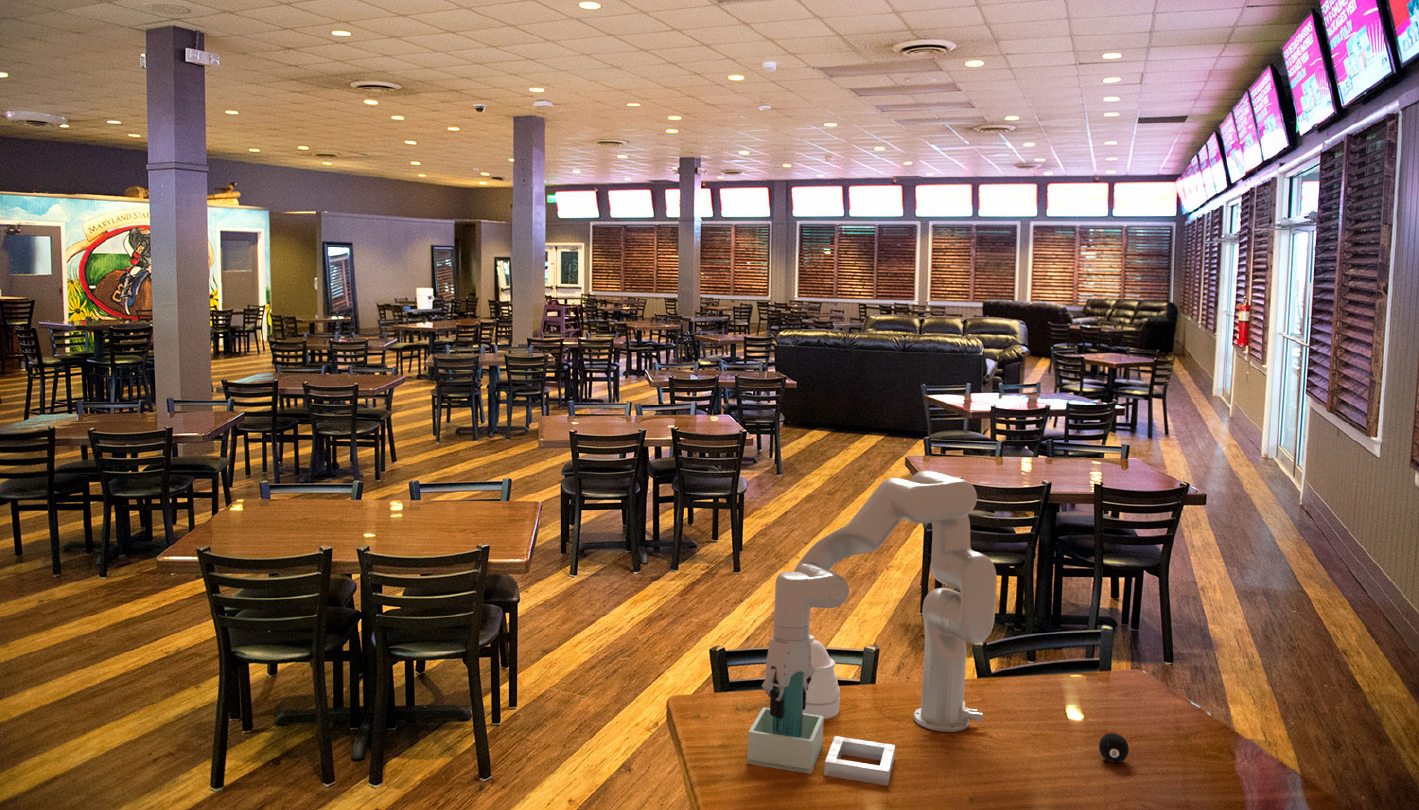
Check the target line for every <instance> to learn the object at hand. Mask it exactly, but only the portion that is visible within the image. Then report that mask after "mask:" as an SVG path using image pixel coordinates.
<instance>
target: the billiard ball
mask: <svg viewBox="0 0 1419 810" xmlns="http://www.w3.org/2000/svg"><path fill="white" fill-rule="evenodd" d="M1098 743H1099V744H1098V750H1099V753H1100V755H1101V756H1102V758H1103V759H1104V758H1105V759H1104V760H1106V761H1107V760H1109V761H1108V762H1110V761H1113V762H1118V763H1122V762H1125V760H1126V758H1127V757H1128V755H1129V750H1130V747H1129V744H1128V741H1127V740H1126V738H1125V737H1124V736H1122V735H1120V734H1119V733H1116V732H1115V733H1114V732H1113V733H1112V732H1111V733H1110V732H1108V733H1106V734H1104V735H1103V736H1102V737H1100V740H1099V742H1098ZM1113 762H1112V763H1113Z"/></svg>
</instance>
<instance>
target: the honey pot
mask: <svg viewBox="0 0 1419 810" xmlns="http://www.w3.org/2000/svg"><path fill="white" fill-rule="evenodd" d="M809 637H810V644H811V665H812V666H813V667H814V668H815V672H814V674H813V676H812V677H811V681H810V683H809V685H808V690H807V691H805V692H806V706H805V709H804V710H802V713H806V714H813V715H820V716H824V720H827V719H831V718H834V717H836V716H837V715H838V714H839V713H840V704H841V703H840V702H841V701H840V699H841V697H840V696H841V695H840V694H841V687H840V686H839V683H838V679H837V673H836V672H835V669H834V668H835V667H836V661H835V660H834V659H832V658H831V657H830V656H829V653H828V651H827V649H826V648H825V646H824V644H822V643H821V642H820V641H819V640H816V639H815V635H811V634H809Z"/></svg>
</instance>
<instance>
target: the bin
mask: <svg viewBox="0 0 1419 810" xmlns="http://www.w3.org/2000/svg"><path fill="white" fill-rule="evenodd" d="M802 714H803V719H802V720H803V721H802V728H803V729H802V734H801V737H800V738H797V737H791V736H784V735H778V734H773V730H772V729H773V722H772V720H773V716H772V715H770V707H764V706H763V707H762V708H761V709H760V712H759V713H758V716H756V719H755V720H754V722H753V723H752V725H751V727H750V729H749V730H748V736H747V737H748V738H747V758H746V759H747V760H746V761H747V762H746V764H747V765H755V766H758V767H759V766H760V767H765V768H772V769H779V770H785V771H789V772H790V771H791V772H796V771H797V773H802V772H804V773H803V774H809V775H811V774H812V773H813V771H814V768H815V766H816V764H817V763H816V762H817V761H818V758H819V756H820V753H821V751H822V749H823V738H824V737H823V736H824V720H825V719H824V716H820V715H813V714H806V713H802Z"/></svg>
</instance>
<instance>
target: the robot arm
mask: <svg viewBox="0 0 1419 810" xmlns="http://www.w3.org/2000/svg"><path fill="white" fill-rule="evenodd" d="M977 502H978V495H977V491H976V489H975V487H974V484H972V483H971V482H969V481H968V480H965V479H963V478H960V477H956V476H952V475H948V474H945V473H941V472H937V471H934V470H920V471H918V472H916V473H915V474H913V476H912V478H911V480H908V479H904V478H899V477H889V478H886V479H885V480H883V481H882V482H881V483H879V485H878V486H877V488H876V489H875V490H874V491H873V492H872V494H871V495H870V496H869V498H868V499H867V500H866V501H865V502H864V504H863V505H862V506H861V507H860V509H859V510H858V511H857V513H856V514H855V515H854V516H853V517H852V519H851V520H850V521H849V522H848V523H847V524H846V525H844V526H842V527H840V528H839V529H837V530H835V531H833V532H831V533H829V534H828V535H826V536H824V537H822V538H821V539H820V540H818V541H817V542H815V543H814V544H813V545H812V546H811V547H810V548H809V550H807V551H806V553H805V554H804V556H803V557H802V558H801V559H800V560H799V562H798V564H796V566H795V568H794V570H793V571H784V572H780V573H779V574H778V575H777V576H776V579H775V592H774V595H775V596H774V614H773V617H774V618H773V636H772V637H771V638H770V642H769V645H768V650H767V656H766V663H765V665H766V666H765V679H764V681H763V683H762V684H761V687H762V689H763V690H764V692H765V693H766V694H767V695H768V698H770V699H769V708H770V715H772V716H774V717H776V718H779V719H781V718H783V700H781V699H782V696H783V693H784V690H785V687H788V686H789V684H790V678H791V677H792V676H793V675H794V674H795V673H796V672H799V671H802V672H804V679H803V710H804V709H805V706H806V692H805V691H807V690H808V685H809V683H810V681H811V677H812V676H813V674H814V672H815V668H814V667H813V666H812V665H811V644H810V637H809V635H810V623H811V622H810V620H811V619H810V618H811V609H812V608H818V609H834V608H837V607H840V606H842V605H843V604H844V603H845V602H846V601H847V600H848V597H849V594H850V587H849V583H848V582H847V580H846V579H845V578H844V577H842V576H841V575H840V574H838V573H836V572H834V571H831V569H832V568H833V567H834V566H835V565H837V563H839V562H840V561H842V560H844V559H846V558H849V557H853V556H857V555H862V554H868V553H873V552H876V551H878V550H879V549H880V548H881V547H882V546H883V544H884V543H885V541H887V539H888V538H889V536H890V535H891V534H892V533H893V532H894V530H895V529H896V527H898V525H899V524H900V523H901V521H903V520H904V521H908V522H910V523H914V524H931V527H932V528H931V529H932V530H931V531H932V532H931V533H932V535H931V536H932V539H931V540H932V541H931V557H930V558H931V560H930V563H931V564H930V569H931V570H930V571H931V574H932V576H933V578H934V579H935V580H936V581H938V582H939V583H941V584H944V585H945V586H947V587H950V588H947V587H938V588H934V589H933V590H931V591H930V592H928V593H927V595H926V596H925V597H924V600H923V604H922V620H923V625H924V626H923V627H924V651H923V652H924V654H923V656H924V657H923V668H922V669H923V671H922V673H923V674H922V685H921V705H920V708H917V709H916V710H915V711H914V712H913V720H914V721H915V723H917V725H919V726H921V727H923V728H925V729H928V730H932V731H936V732H942V733H955V732H957V733H958V732H961V731H964V730H965V729H968V727H969V725H970V721H971V720H972V721H975V722H981V723H982V722H983V712H978V709H976V708H975V709H974V708H968V707H967V706H965V704H966V703H965V701H964V697H965V695H964V694H965V680H966V679H965V678H966V665H967V662H966V661H967V644H966V642H969V643H971V644H979V643H982V642H983V641H985V640H986V639H988V637H990V634H991V632H992V630H993V628H994V625H995V624H994V623H995V614H996V601H997V579H998V577H997V570H996V567H995V564H994V563H993V561H992V560H991V558H990V557H988V556H987V555H986V554H984V553H982V552H979V551H975V550H973V549H972V547H971V523H970V517H969V514H971V512H973V510H974V509H975V506H976V505H977ZM951 588H953V589H951ZM954 589H955V590H954ZM777 681H778V682H779V684H777ZM776 687H778V688H779V691H778V693H777V692H776V691H775V690H776Z"/></svg>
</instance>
